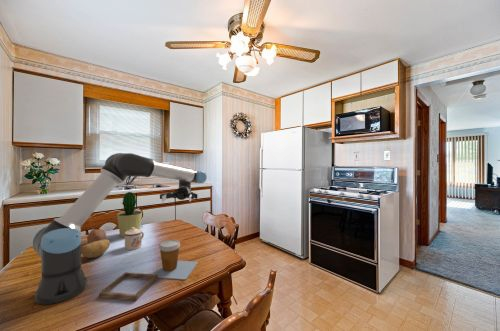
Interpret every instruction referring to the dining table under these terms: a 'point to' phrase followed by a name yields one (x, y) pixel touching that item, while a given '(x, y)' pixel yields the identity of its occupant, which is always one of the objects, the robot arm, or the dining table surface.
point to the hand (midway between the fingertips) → (176, 198)
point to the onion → (96, 235)
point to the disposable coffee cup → (169, 254)
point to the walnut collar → (131, 297)
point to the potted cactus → (129, 214)
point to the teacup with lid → (133, 238)
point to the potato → (95, 248)
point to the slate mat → (177, 271)
